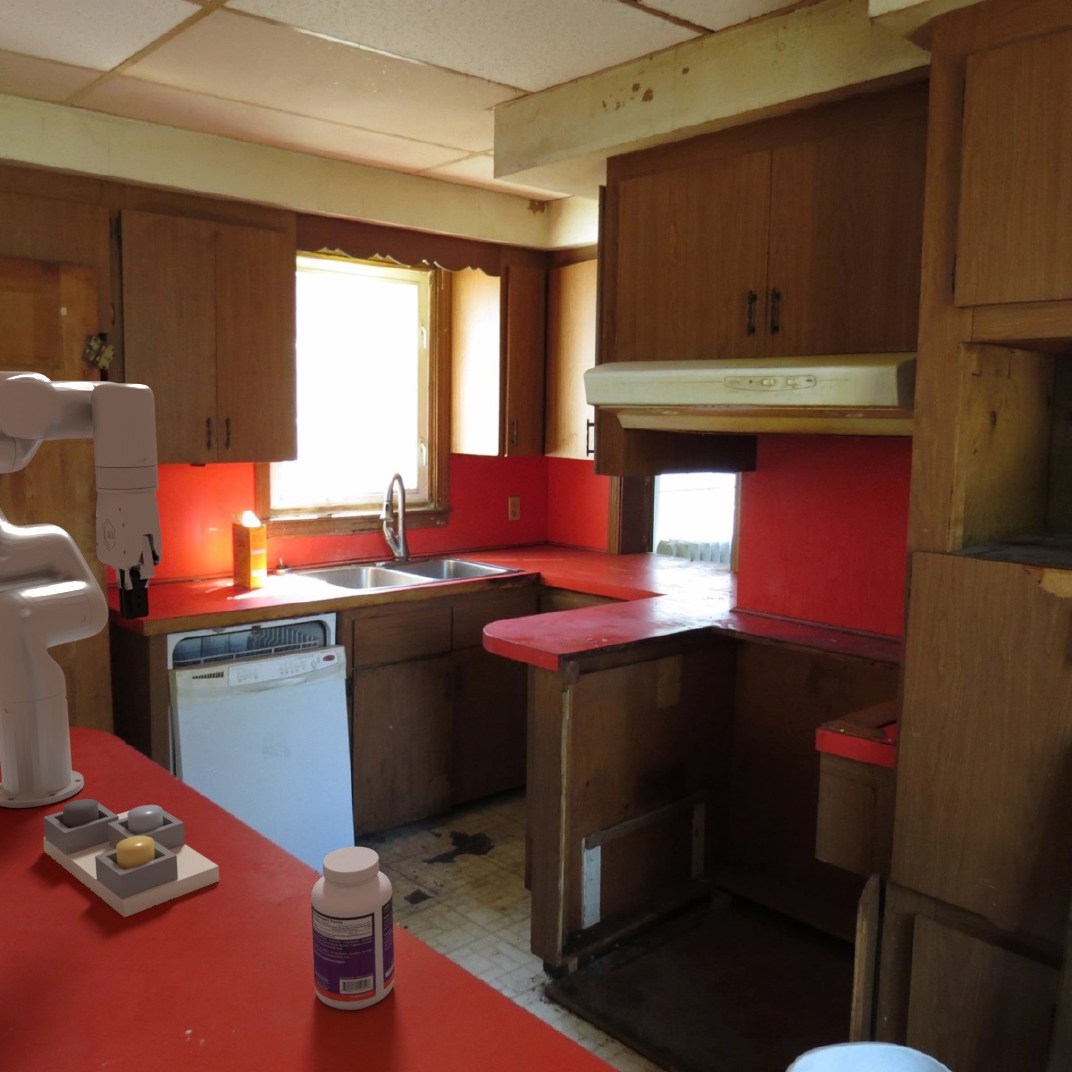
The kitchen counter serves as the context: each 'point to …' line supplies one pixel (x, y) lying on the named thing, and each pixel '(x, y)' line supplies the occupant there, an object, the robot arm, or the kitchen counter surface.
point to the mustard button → (135, 851)
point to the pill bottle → (352, 930)
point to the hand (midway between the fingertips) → (134, 616)
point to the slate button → (145, 819)
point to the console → (137, 887)
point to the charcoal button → (80, 812)
